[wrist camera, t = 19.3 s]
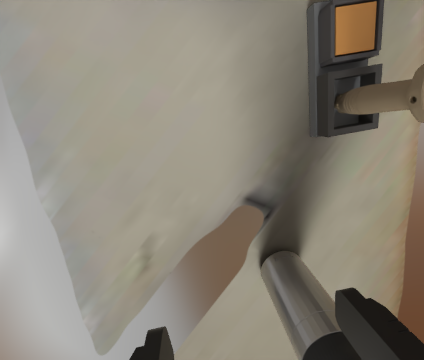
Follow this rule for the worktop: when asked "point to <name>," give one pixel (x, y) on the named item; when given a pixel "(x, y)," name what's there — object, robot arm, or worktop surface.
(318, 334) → the robot arm
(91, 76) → the worktop surface
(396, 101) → the handle
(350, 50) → the button
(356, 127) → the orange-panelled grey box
